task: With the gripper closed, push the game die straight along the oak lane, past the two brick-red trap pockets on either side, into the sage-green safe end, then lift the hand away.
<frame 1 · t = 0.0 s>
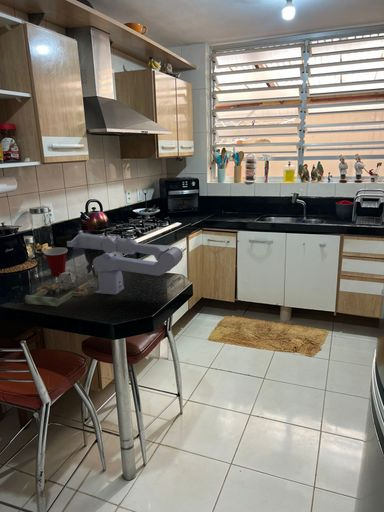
hand: (62, 237, 154), 22 cm above the countertop, tool horizontal, fingers open, 7 cm apart
game die: (68, 289, 158), on the countertop
plastic cup: (58, 274, 179), on the countertop
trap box: (59, 294, 152), on the countertop
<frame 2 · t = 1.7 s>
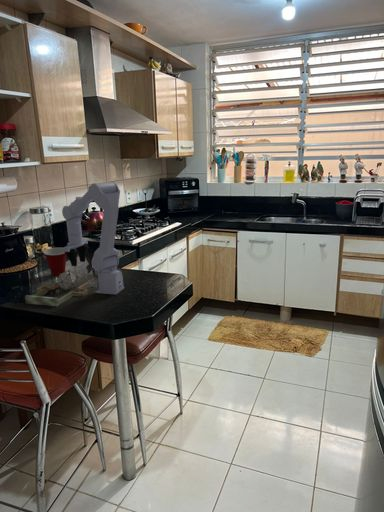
hand: (78, 263, 164), 8 cm above the countertop, tool pointing down, fingers open, 6 cm apart
nothing on the countertop moved.
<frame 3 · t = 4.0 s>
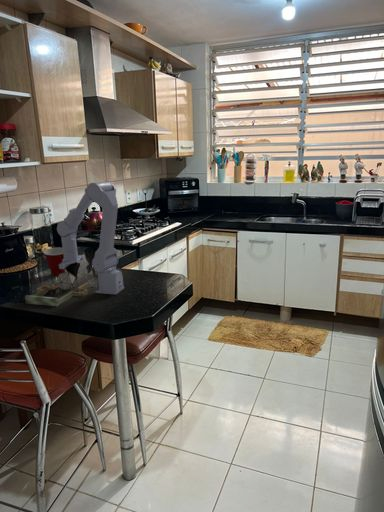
hand: (73, 280, 162), 2 cm above the countertop, tool pointing down, fingers closed
game die: (67, 290, 157), on the countertop, touching gripper
everything else where it was.
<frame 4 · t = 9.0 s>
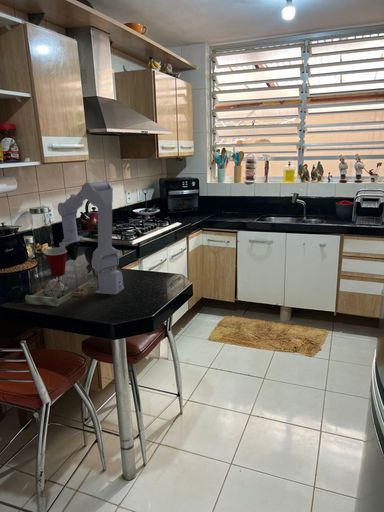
hand: (73, 259, 168), 9 cm above the countertop, tool pointing down, fingers closed
game die: (56, 298, 149), on the countertop
everything else where it was.
at the end: game die inside the target area (2.2 cm from its centre), on the countertop; game die tilted 0° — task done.
